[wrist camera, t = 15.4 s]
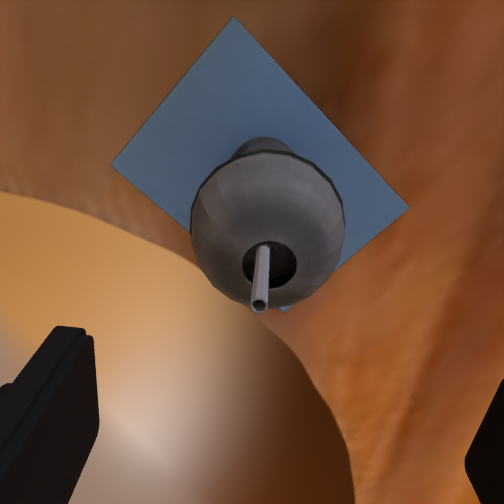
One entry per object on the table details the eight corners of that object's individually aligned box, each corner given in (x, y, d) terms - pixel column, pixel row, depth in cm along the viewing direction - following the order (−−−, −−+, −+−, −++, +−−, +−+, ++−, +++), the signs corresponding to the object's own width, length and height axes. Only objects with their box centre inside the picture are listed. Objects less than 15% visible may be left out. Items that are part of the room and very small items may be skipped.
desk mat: (407, 205, 32) (409, 208, 31) (283, 309, 36) (284, 313, 35) (233, 16, 26) (233, 15, 26) (111, 163, 30) (109, 165, 30)
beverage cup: (235, 228, 32) (207, 455, 14) (196, 138, 29) (96, 274, 11) (327, 196, 31) (428, 397, 13) (295, 98, 28) (366, 176, 10)
